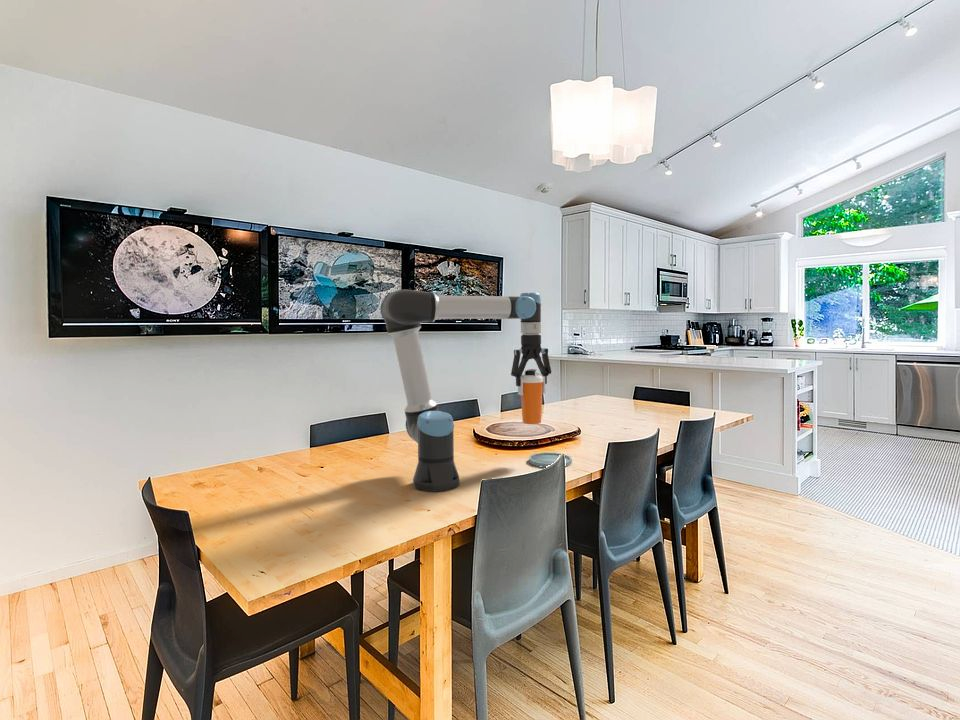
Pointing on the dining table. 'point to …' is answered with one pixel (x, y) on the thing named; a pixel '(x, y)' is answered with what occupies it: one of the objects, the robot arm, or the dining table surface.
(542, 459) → the saucer
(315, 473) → the dining table surface
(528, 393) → the shaker bottle
